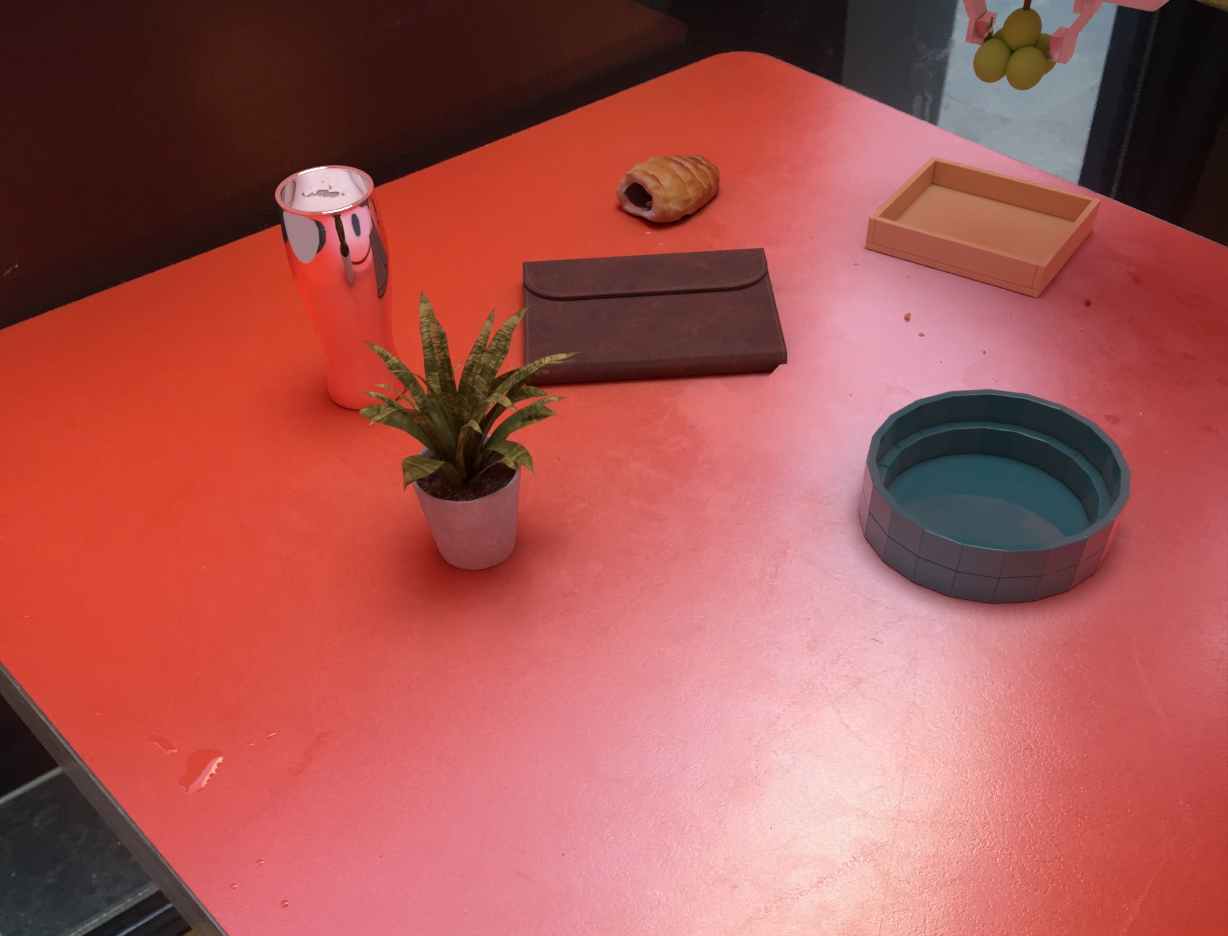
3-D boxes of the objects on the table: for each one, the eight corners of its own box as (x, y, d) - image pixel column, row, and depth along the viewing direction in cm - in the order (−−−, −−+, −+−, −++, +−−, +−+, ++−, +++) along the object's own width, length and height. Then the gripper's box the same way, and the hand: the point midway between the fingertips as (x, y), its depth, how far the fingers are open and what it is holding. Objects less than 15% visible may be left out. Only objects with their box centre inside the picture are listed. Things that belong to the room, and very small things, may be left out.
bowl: (1142, 500, 83) (1167, 437, 79) (1051, 647, 75) (1072, 585, 71) (921, 425, 88) (933, 363, 84) (815, 554, 81) (823, 492, 77)
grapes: (1059, 72, 94) (1080, -16, 89) (1031, 100, 91) (1051, 11, 86) (992, 57, 96) (1009, -29, 91) (963, 84, 93) (979, -4, 88)
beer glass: (364, 350, 97) (322, 154, 85) (432, 378, 94) (398, 179, 82) (303, 395, 93) (249, 197, 81) (371, 425, 91) (326, 225, 79)
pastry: (685, 169, 112) (686, 126, 109) (739, 195, 109) (741, 151, 106) (610, 207, 109) (608, 163, 106) (662, 235, 106) (663, 190, 103)
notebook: (786, 372, 93) (788, 348, 91) (526, 388, 93) (523, 364, 91) (761, 267, 102) (763, 244, 100) (524, 281, 102) (522, 258, 100)
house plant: (532, 654, 76) (505, 430, 63) (335, 605, 79) (270, 383, 66) (612, 511, 84) (602, 286, 71) (429, 472, 87) (388, 249, 74)
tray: (1092, 229, 104) (1101, 199, 102) (1037, 298, 98) (1045, 266, 96) (927, 185, 109) (932, 155, 107) (864, 248, 103) (868, 217, 101)
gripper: (1241, -171, 79) (1169, 64, 90) (945, -214, 86) (912, 8, 97) (1210, -142, 75) (1139, 98, 87) (905, -189, 83) (876, 38, 94)
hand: (1017, 50), depth 92 cm, fingers closed on grapes, 5 cm apart
